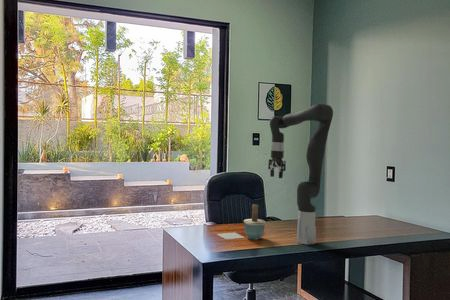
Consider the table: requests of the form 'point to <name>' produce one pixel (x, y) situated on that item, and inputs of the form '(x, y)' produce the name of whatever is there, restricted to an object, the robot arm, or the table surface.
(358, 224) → the table surface
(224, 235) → the mat
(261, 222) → the lid
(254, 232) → the flower pot
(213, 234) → the table surface
